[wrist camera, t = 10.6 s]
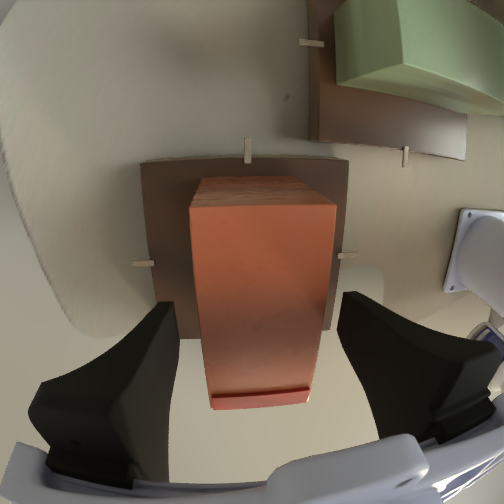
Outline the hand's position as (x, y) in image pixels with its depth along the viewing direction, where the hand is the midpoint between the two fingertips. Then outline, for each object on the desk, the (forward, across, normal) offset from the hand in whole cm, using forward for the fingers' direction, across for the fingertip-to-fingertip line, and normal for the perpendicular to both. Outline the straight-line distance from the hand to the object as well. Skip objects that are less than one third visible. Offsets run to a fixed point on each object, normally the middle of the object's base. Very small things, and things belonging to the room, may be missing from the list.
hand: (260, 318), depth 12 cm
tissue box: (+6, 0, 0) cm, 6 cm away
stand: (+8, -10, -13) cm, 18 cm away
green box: (+6, -10, -13) cm, 17 cm away
